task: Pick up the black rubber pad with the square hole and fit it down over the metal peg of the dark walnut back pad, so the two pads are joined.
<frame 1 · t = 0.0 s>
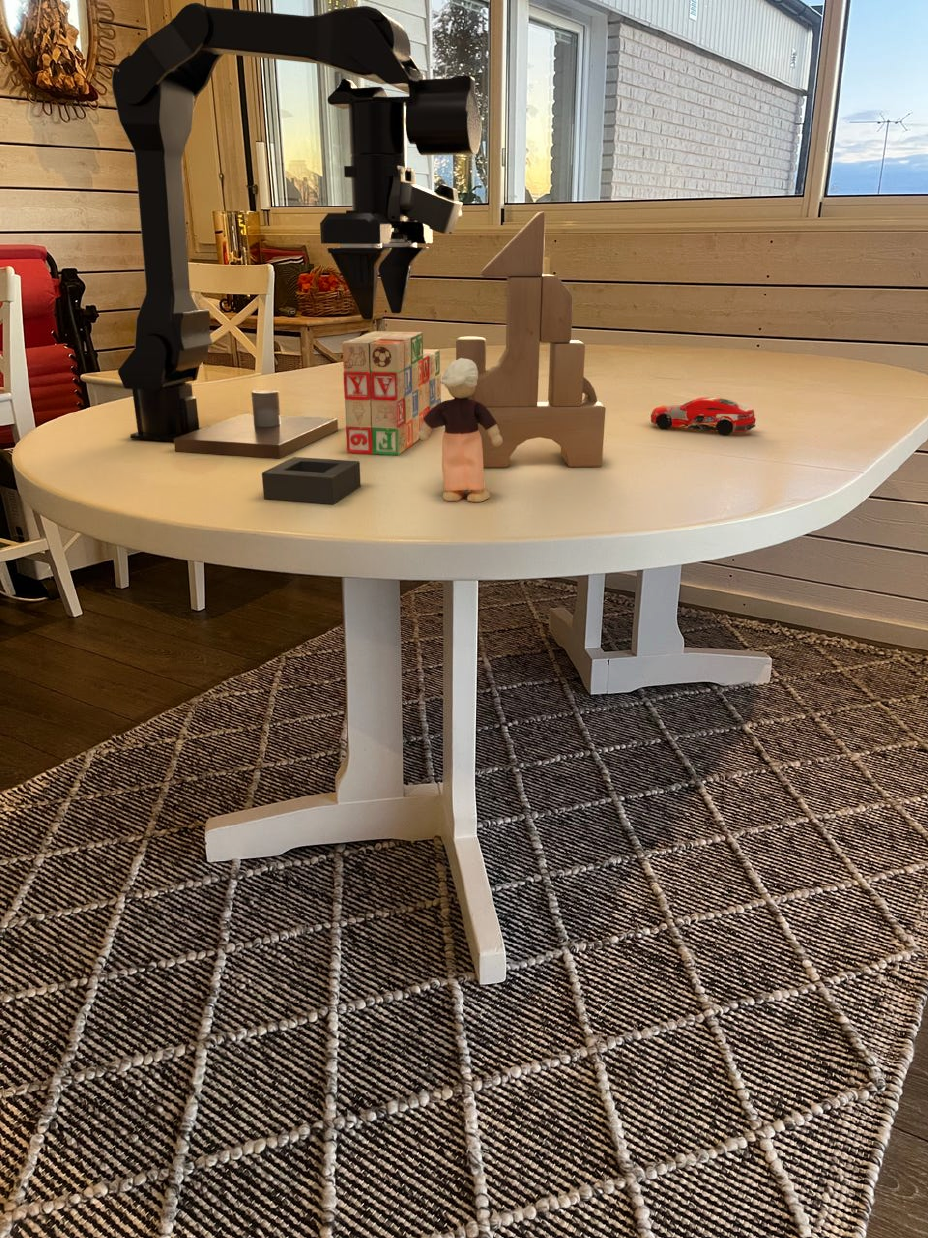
hand: (383, 316, 100), 15 cm above the table, tool pointing down, fingers open, 9 cm apart
rubber pad: (313, 492, 88), on the table
grandmother figurine: (460, 499, 86), on the table
stack of blocks: (397, 437, 113), on the table
race car: (700, 430, 118), on the table
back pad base: (261, 440, 110), on the table
wooden toy: (526, 462, 101), on the table
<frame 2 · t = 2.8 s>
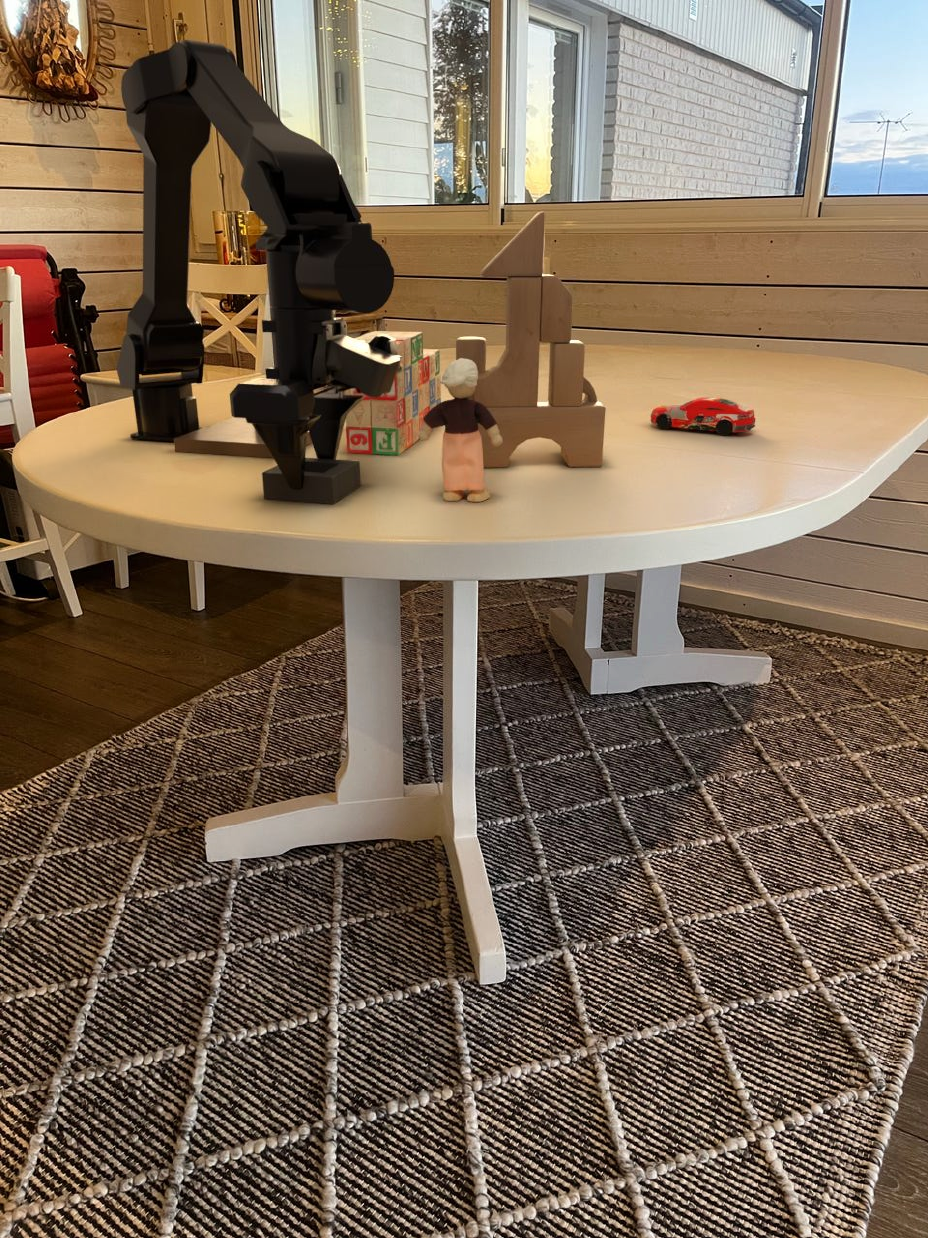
hand: (312, 479, 87), 1 cm above the table, tool pointing down, fingers closed on rubber pad, 7 cm apart
rubber pad: (313, 492, 88), on the table, touching gripper
everything else where it was.
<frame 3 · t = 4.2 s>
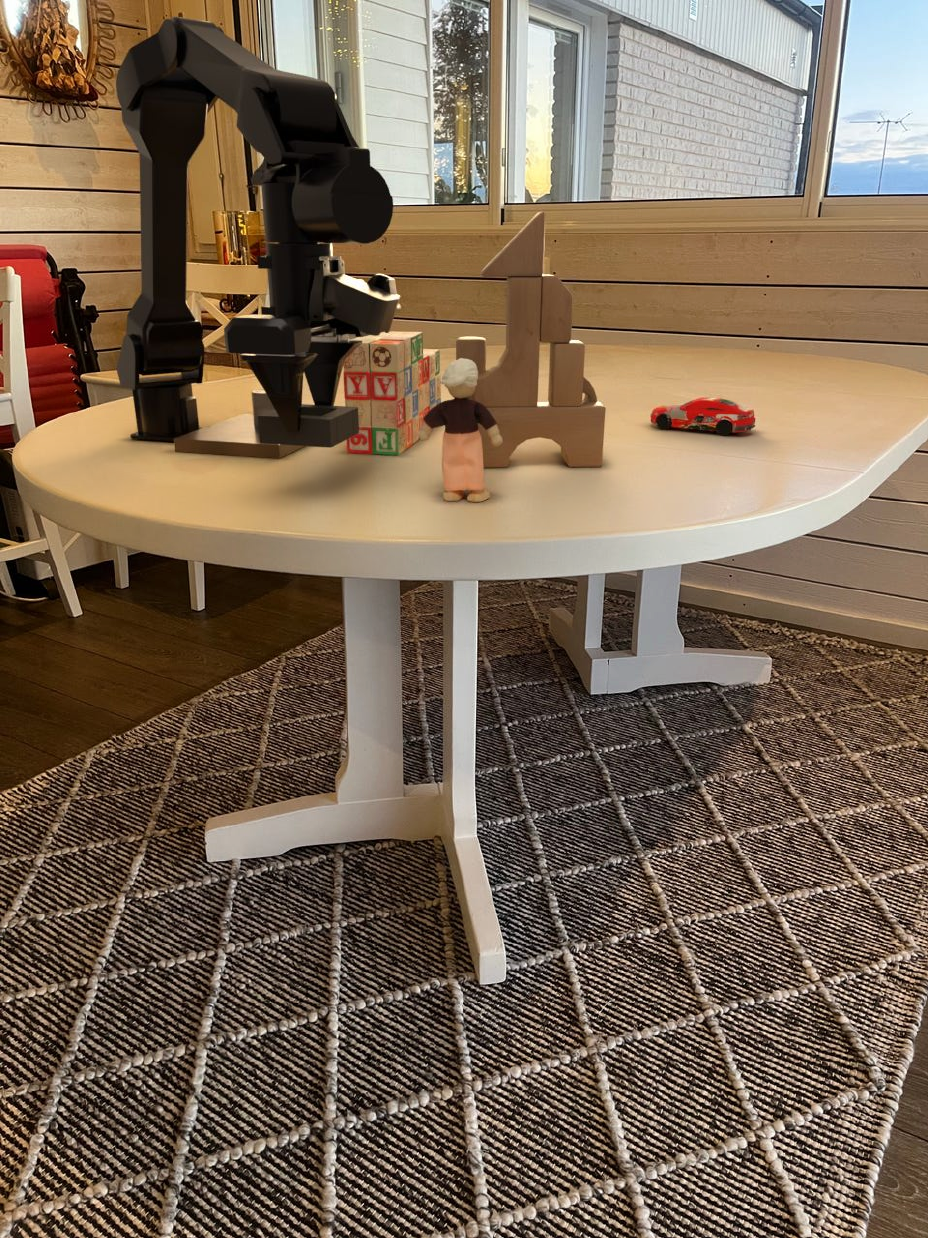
hand: (309, 424, 85), 6 cm above the table, tool pointing down, fingers closed on rubber pad, 7 cm apart
rubber pad: (310, 438, 85), point 5 cm above the table, touching gripper
everything else where it was.
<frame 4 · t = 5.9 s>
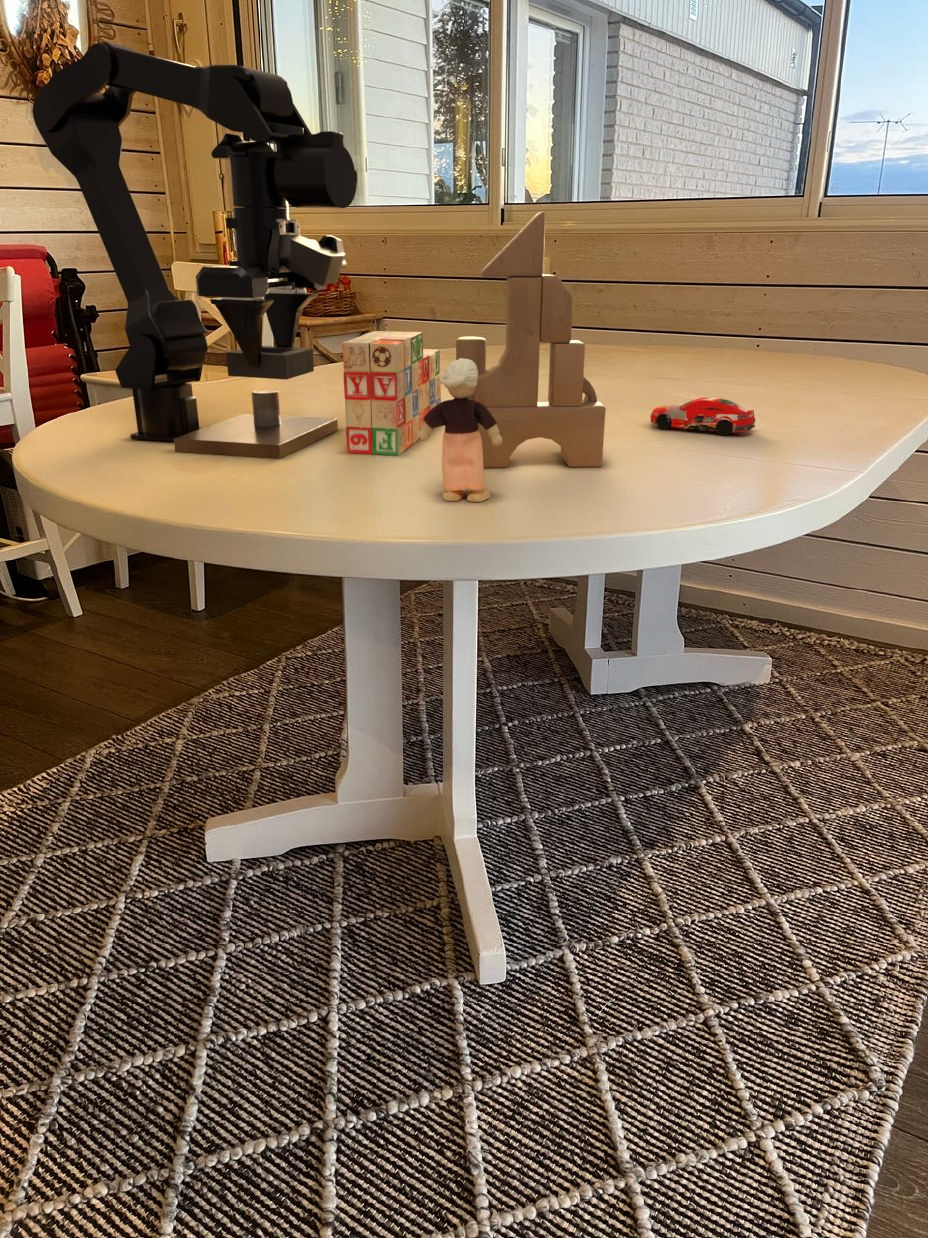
hand: (270, 362, 101), 10 cm above the table, tool pointing down, fingers closed on rubber pad, 7 cm apart
rubber pad: (271, 373, 102), point 9 cm above the table, touching gripper
everything else where it was.
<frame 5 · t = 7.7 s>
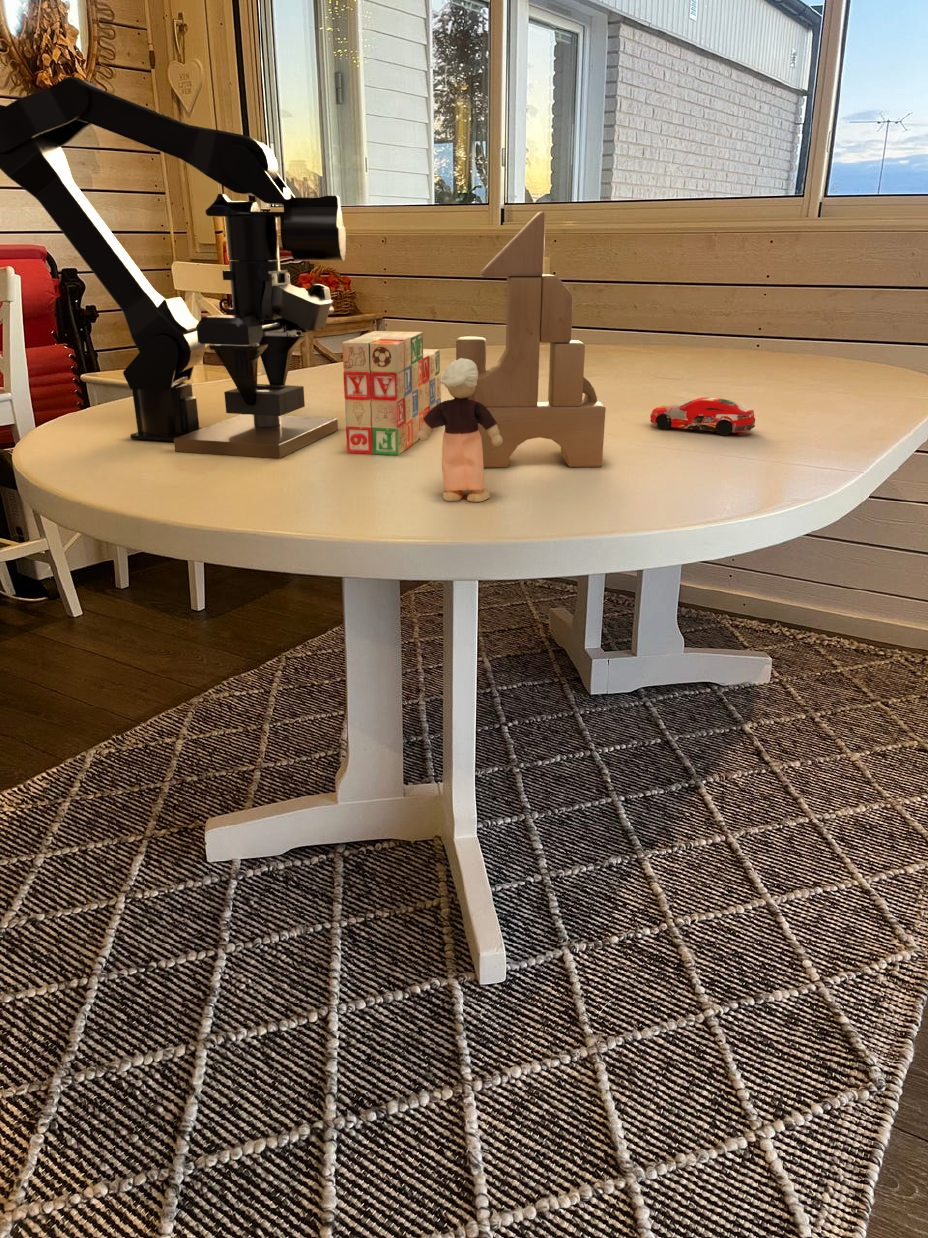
hand: (265, 399, 110), 4 cm above the table, tool pointing down, fingers closed on rubber pad, 7 cm apart
rubber pad: (266, 409, 111), point 3 cm above the table, touching gripper
everything else where it was.
when the fingers open (3 cm above the table, at t = 8.9 s): rubber pad stays where it is, resting on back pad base.
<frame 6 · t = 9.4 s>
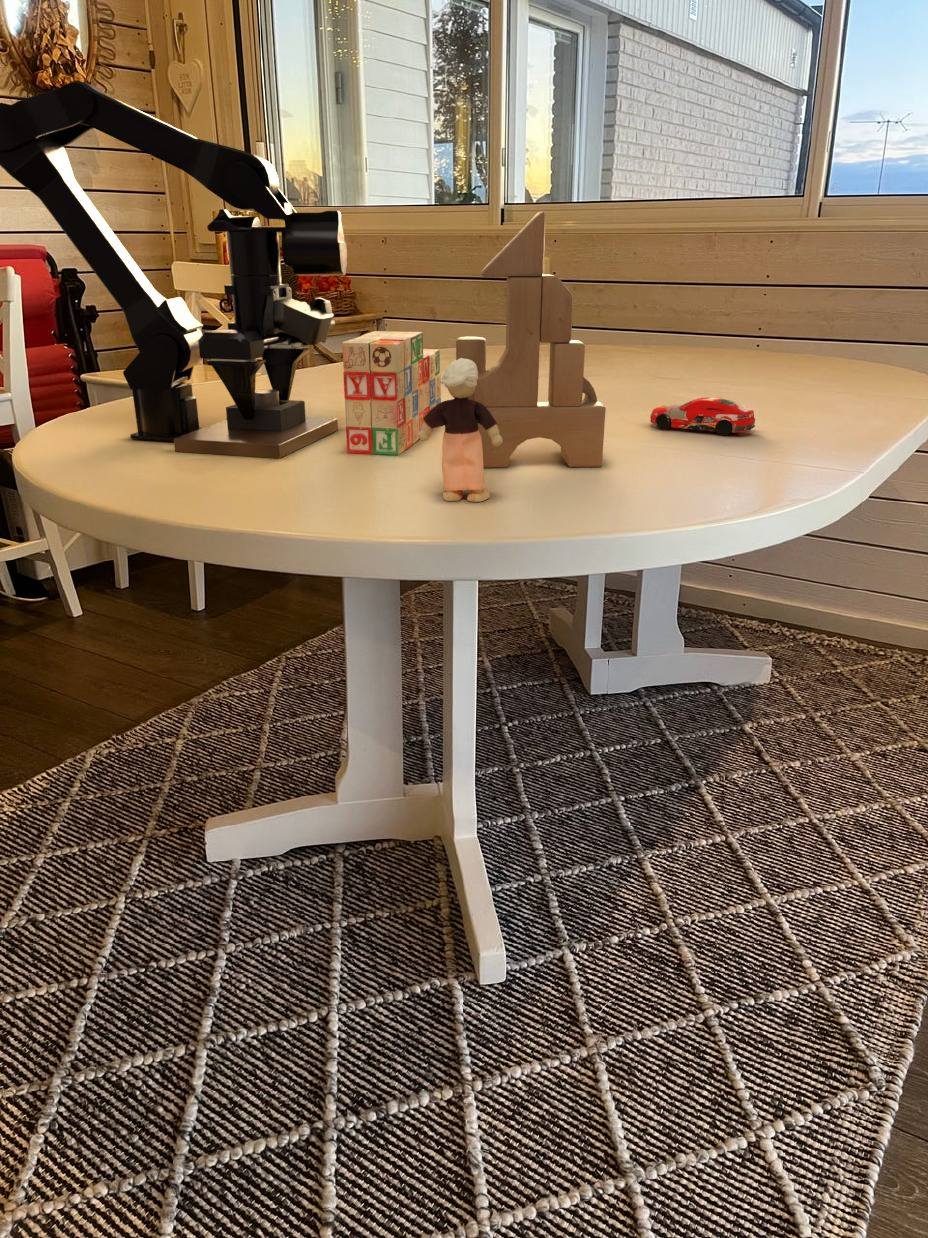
hand: (266, 412, 111), 3 cm above the table, tool pointing down, fingers open, 9 cm apart
rubber pad: (267, 424, 111), point 1 cm above the table, touching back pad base
everything else where it was.
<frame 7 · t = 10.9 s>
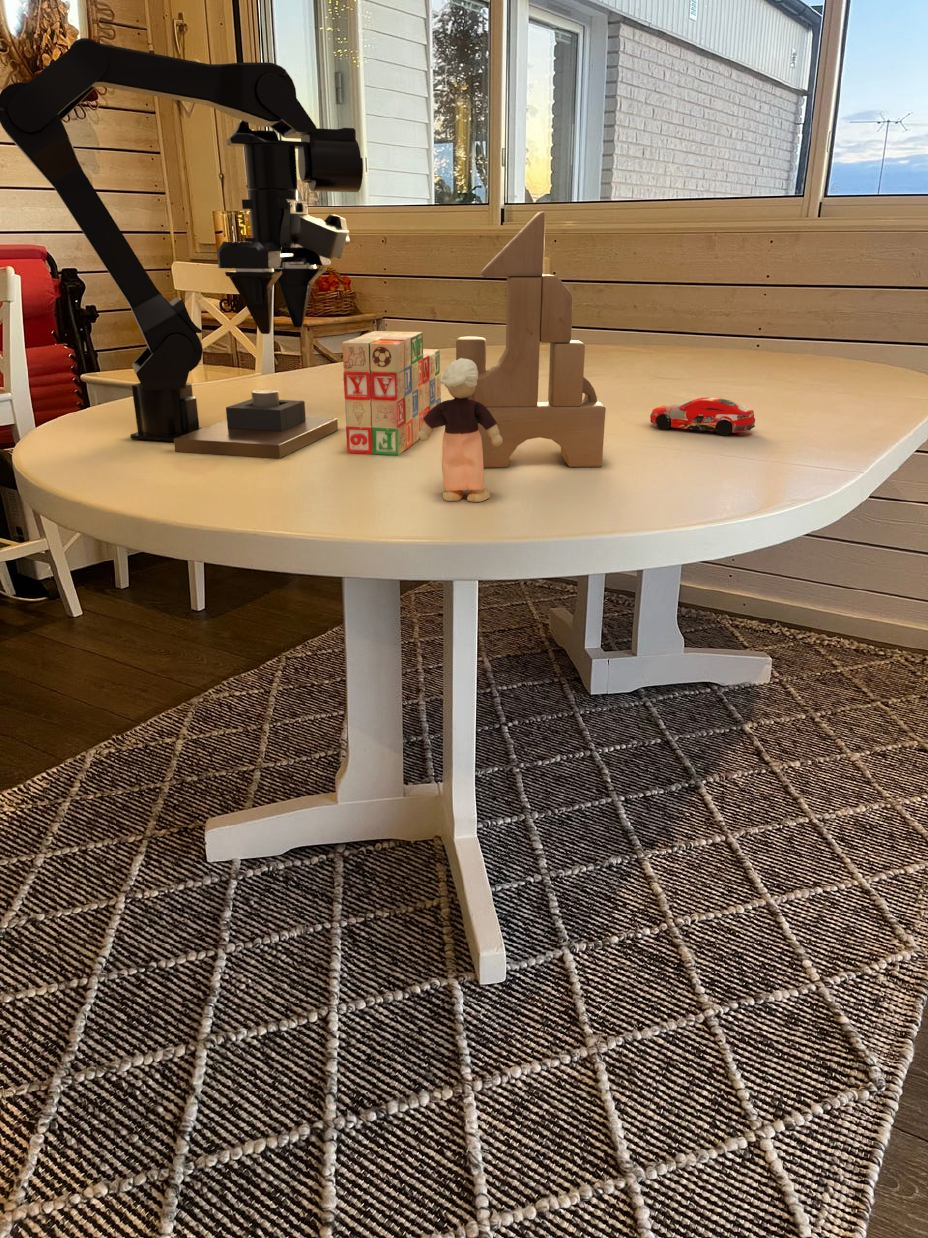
hand: (282, 330, 113), 12 cm above the table, tool pointing down, fingers open, 9 cm apart
nothing on the table moved.
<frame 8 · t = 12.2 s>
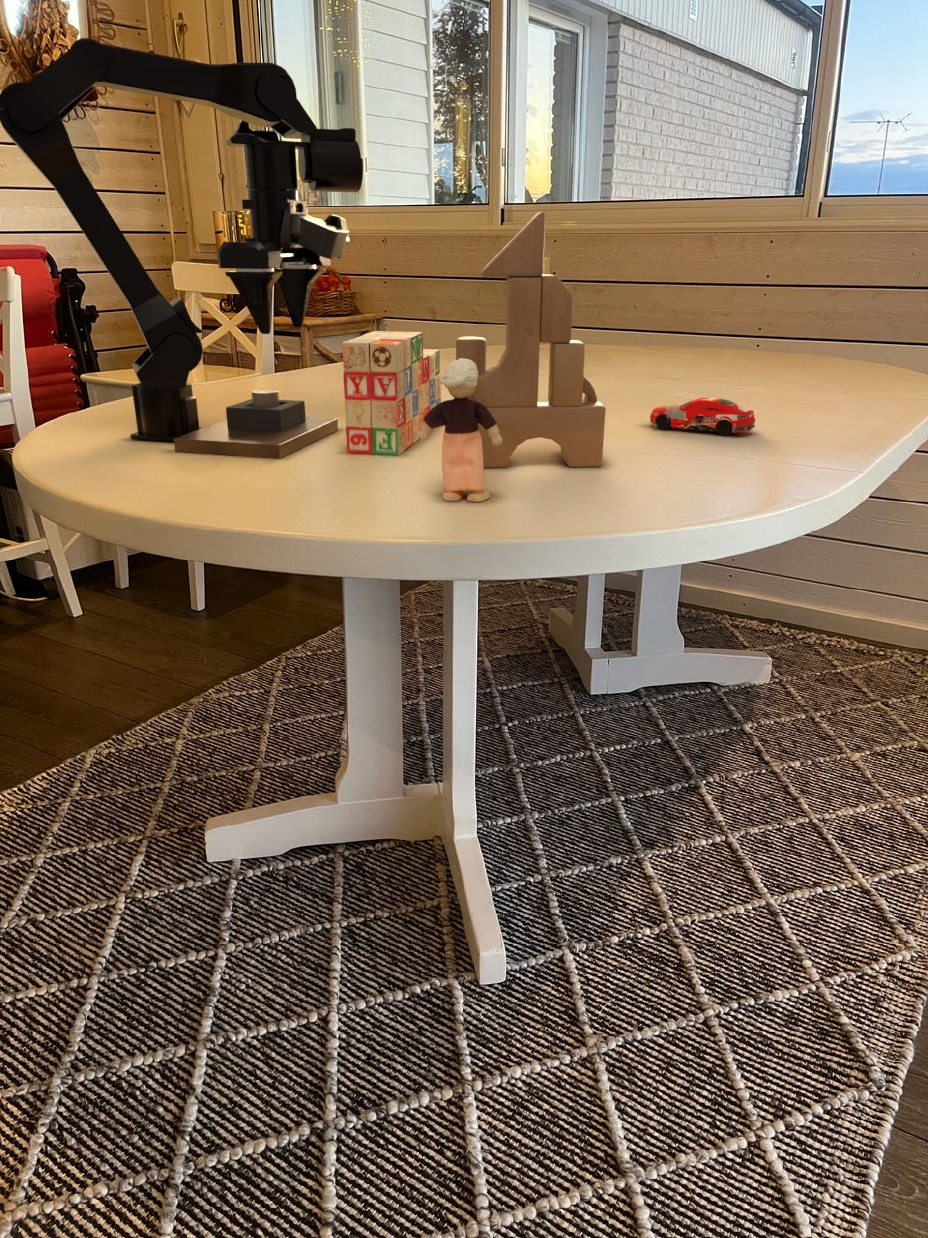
hand: (282, 330, 113), 12 cm above the table, tool pointing down, fingers open, 9 cm apart
nothing on the table moved.
at the end: rubber pad 0.0 cm from the target spot on the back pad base, point 1.5 cm above the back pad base's base; rubber pad tilted 0°; the gripper is holding nothing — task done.
